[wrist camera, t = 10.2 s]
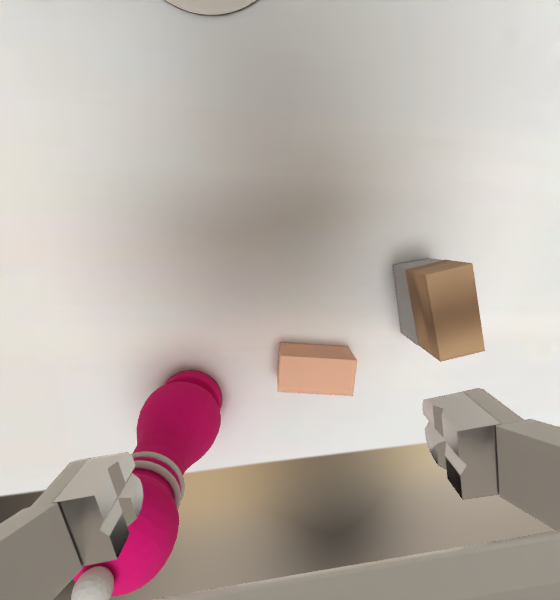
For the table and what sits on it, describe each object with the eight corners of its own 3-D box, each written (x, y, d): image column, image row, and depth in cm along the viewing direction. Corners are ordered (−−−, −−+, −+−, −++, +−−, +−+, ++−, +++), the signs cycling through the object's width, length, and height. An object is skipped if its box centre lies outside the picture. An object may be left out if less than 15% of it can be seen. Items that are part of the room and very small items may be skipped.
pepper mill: (232, 372, 34) (173, 557, 14) (220, 434, 35) (151, 681, 16) (163, 359, 34) (5, 530, 14) (153, 422, 35) (-4, 660, 15)
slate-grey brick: (392, 264, 32) (408, 268, 28) (427, 258, 32) (449, 261, 28) (400, 332, 34) (417, 344, 30) (434, 326, 34) (455, 338, 30)
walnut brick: (404, 269, 28) (425, 275, 24) (444, 259, 28) (472, 263, 24) (418, 345, 30) (440, 361, 26) (456, 335, 30) (484, 350, 26)
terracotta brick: (277, 374, 34) (277, 391, 30) (279, 341, 34) (280, 355, 30) (344, 378, 34) (353, 396, 31) (347, 346, 34) (357, 360, 30)
